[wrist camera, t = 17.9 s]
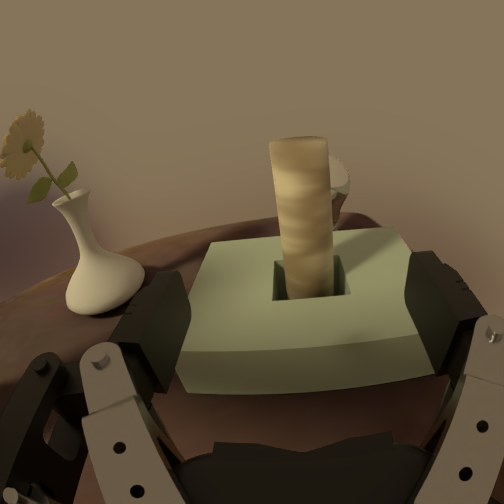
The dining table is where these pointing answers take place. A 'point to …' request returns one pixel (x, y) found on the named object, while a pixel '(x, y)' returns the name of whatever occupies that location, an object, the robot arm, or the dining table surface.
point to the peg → (304, 214)
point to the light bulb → (338, 187)
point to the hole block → (301, 320)
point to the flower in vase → (72, 225)
